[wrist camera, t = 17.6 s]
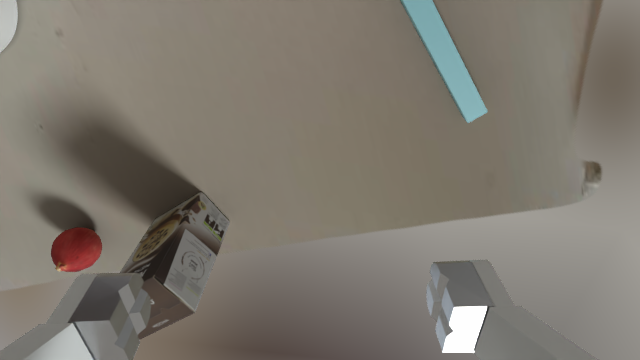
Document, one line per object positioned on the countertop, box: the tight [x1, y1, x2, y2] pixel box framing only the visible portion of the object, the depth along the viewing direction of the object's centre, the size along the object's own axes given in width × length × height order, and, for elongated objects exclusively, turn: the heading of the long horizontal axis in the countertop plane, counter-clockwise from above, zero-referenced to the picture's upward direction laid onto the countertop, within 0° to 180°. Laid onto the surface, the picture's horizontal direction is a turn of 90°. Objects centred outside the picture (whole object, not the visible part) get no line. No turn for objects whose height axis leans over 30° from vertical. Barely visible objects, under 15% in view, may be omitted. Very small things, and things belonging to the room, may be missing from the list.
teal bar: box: [400, 0, 488, 123], centre depth 40 cm, size 24×2×2 cm, turn 35°
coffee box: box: [120, 192, 230, 340], centre depth 47 cm, size 9×6×16 cm
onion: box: [51, 227, 102, 272], centre depth 52 cm, size 6×6×8 cm
